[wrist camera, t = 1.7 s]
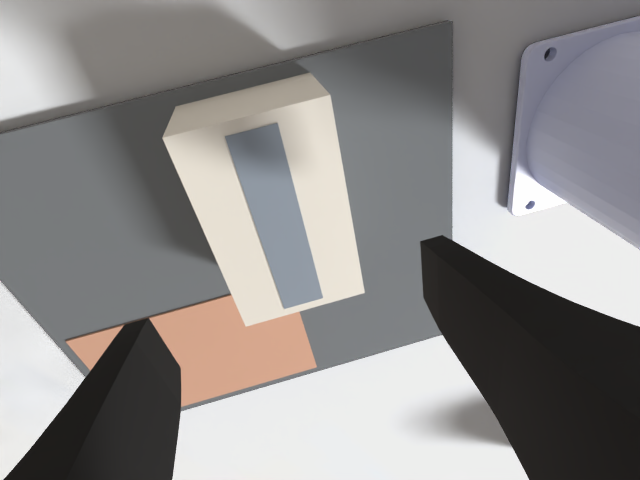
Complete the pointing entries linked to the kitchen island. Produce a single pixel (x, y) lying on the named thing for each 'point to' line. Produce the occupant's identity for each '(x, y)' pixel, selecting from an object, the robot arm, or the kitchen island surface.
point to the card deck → (270, 194)
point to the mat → (188, 236)
